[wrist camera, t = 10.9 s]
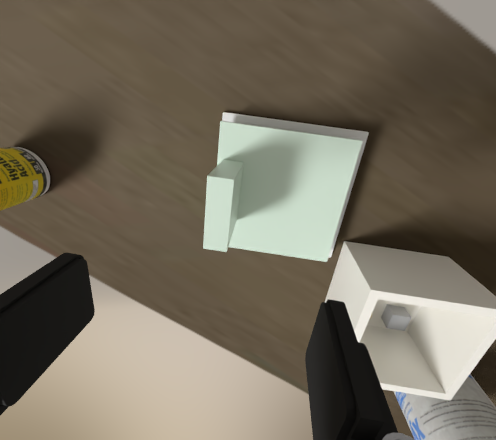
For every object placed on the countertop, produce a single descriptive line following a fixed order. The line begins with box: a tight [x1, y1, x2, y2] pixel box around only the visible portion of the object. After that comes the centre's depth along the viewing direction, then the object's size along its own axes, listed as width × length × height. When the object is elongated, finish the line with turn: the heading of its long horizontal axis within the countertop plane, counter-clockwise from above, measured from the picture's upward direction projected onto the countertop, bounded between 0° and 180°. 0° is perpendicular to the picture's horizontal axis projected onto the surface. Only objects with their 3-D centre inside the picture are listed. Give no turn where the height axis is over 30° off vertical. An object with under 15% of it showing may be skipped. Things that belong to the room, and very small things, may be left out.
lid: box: [203, 121, 363, 262], centre depth 21 cm, size 12×12×8 cm
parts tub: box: [325, 241, 496, 400], centre depth 25 cm, size 11×11×8 cm
